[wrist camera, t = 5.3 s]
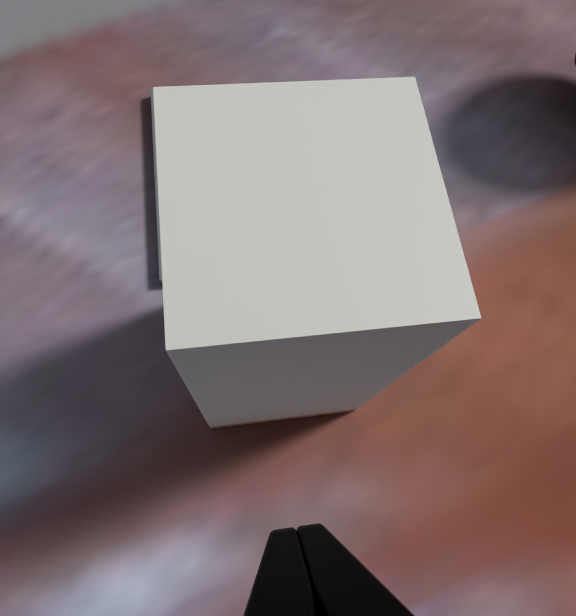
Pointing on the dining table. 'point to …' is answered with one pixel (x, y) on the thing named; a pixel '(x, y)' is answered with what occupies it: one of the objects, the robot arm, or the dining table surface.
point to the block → (303, 244)
